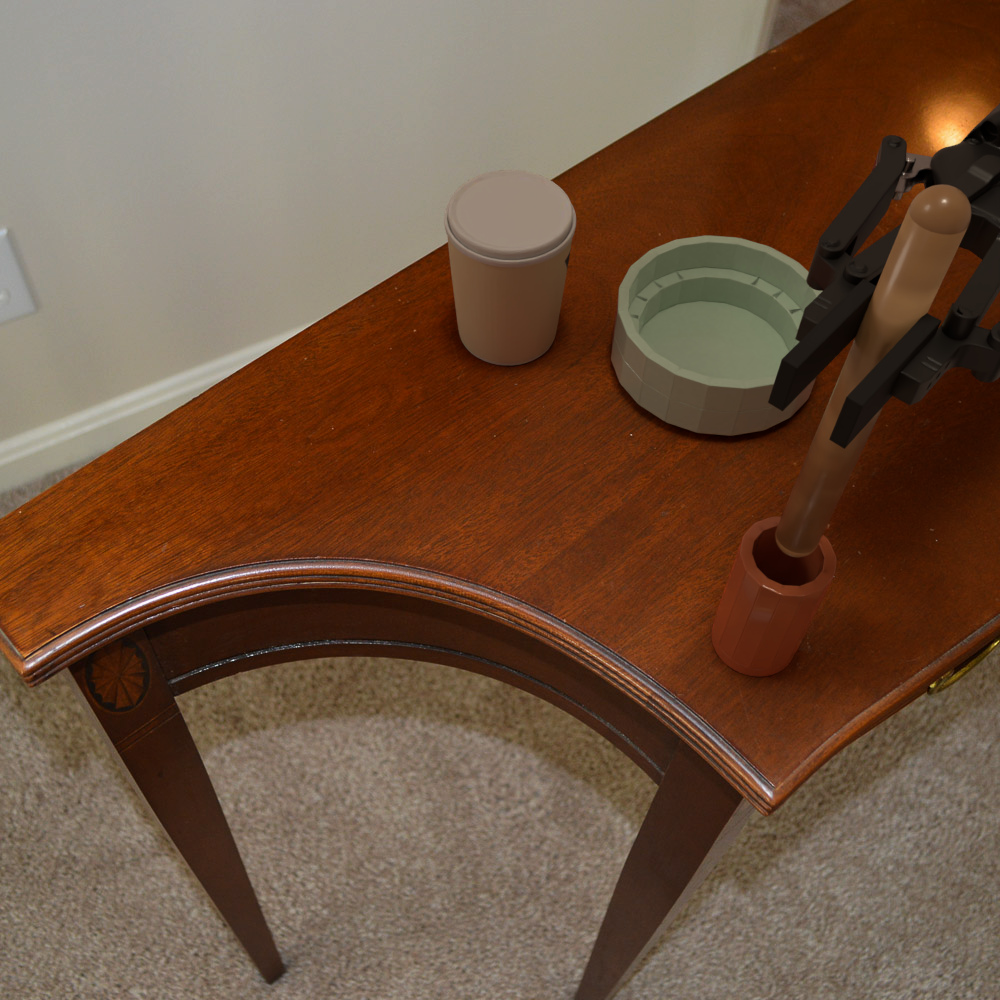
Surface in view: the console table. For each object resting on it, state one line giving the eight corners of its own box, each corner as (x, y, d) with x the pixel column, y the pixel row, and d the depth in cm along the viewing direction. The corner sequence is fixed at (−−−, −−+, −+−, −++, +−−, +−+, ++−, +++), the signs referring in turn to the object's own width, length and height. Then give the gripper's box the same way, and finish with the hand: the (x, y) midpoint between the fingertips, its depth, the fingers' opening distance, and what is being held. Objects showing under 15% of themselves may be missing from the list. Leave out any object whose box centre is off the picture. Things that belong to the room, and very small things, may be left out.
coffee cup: (590, 342, 86) (603, 221, 76) (491, 392, 82) (492, 272, 73) (521, 273, 90) (526, 151, 80) (425, 318, 87) (418, 196, 77)
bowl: (851, 358, 85) (873, 302, 80) (737, 477, 78) (754, 423, 73) (688, 265, 91) (700, 208, 86) (569, 368, 84) (574, 311, 79)
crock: (811, 635, 71) (854, 551, 62) (764, 693, 68) (802, 614, 60) (742, 587, 73) (775, 500, 64) (693, 642, 70) (721, 558, 62)
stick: (821, 547, 62) (991, 190, 43) (799, 573, 60) (964, 217, 42) (785, 524, 62) (936, 164, 44) (762, 549, 61) (908, 190, 42)
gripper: (1170, 272, 56) (950, 558, 45) (903, 146, 62) (653, 373, 51) (1254, 148, 50) (1022, 445, 39) (949, 21, 56) (676, 249, 45)
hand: (814, 403), depth 45 cm, fingers closed on stick, 2 cm apart
